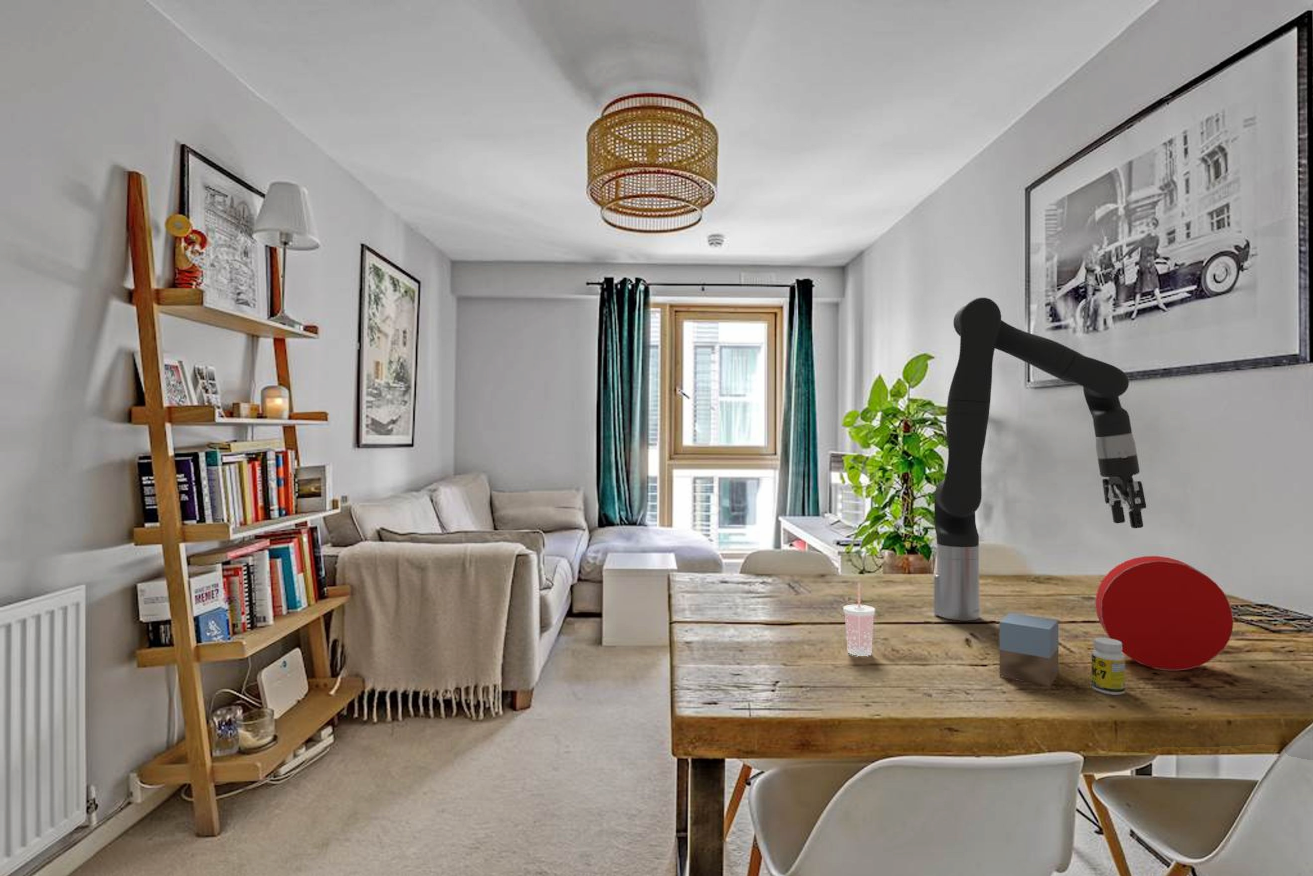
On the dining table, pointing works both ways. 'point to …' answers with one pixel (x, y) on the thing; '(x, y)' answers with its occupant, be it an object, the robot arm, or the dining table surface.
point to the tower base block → (1029, 667)
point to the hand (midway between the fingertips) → (1128, 525)
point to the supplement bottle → (1108, 666)
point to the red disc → (1164, 613)
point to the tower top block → (1029, 635)
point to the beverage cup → (859, 628)
